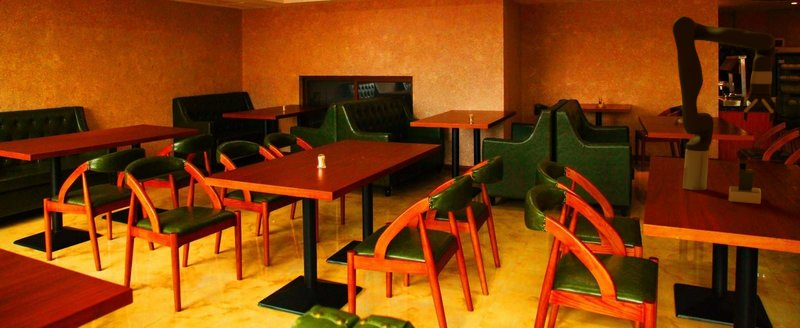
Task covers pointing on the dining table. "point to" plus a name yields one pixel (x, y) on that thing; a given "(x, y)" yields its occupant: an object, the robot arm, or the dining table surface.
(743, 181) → the vaping device
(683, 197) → the dining table surface
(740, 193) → the riser
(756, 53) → the robot arm
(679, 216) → the dining table surface
